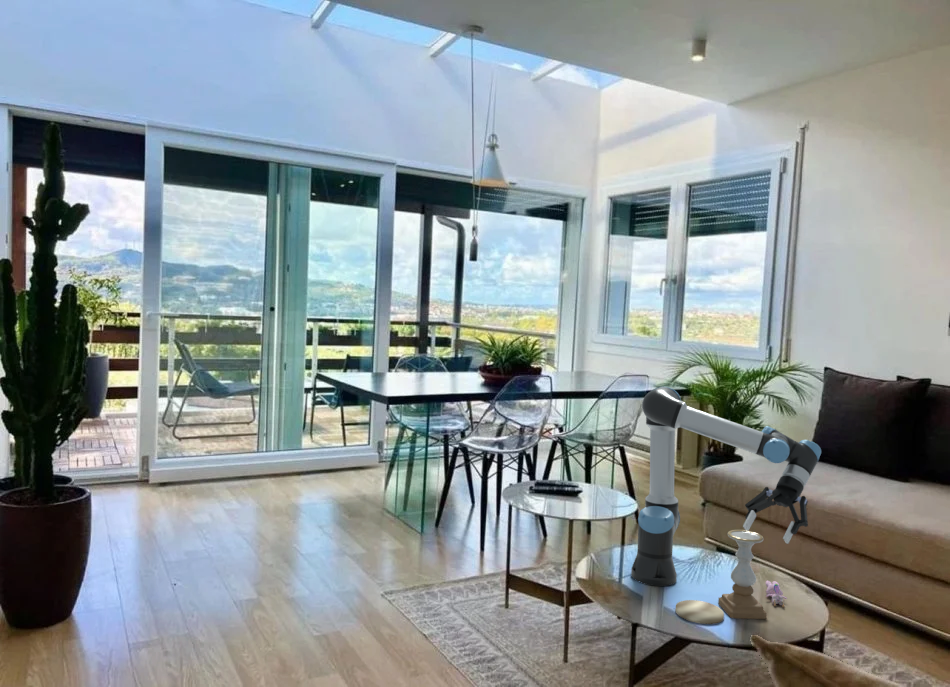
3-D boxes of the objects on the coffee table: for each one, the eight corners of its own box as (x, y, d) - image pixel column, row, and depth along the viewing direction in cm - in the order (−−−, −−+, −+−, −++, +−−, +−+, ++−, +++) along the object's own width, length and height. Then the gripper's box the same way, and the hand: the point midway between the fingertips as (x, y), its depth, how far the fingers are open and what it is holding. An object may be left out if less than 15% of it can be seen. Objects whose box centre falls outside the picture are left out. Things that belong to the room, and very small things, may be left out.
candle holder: (751, 603, 214) (755, 529, 213) (767, 619, 203) (771, 541, 202) (717, 603, 214) (720, 528, 213) (731, 618, 203) (735, 540, 202)
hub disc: (666, 612, 206) (667, 609, 206) (688, 599, 216) (688, 596, 216) (711, 628, 196) (711, 624, 196) (731, 614, 206) (731, 610, 206)
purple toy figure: (789, 613, 212) (780, 587, 226) (791, 595, 210) (781, 570, 225) (767, 610, 213) (760, 584, 227) (769, 593, 212) (761, 568, 226)
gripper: (834, 497, 213) (807, 553, 205) (761, 480, 233) (734, 530, 225) (827, 483, 210) (799, 539, 202) (753, 467, 230) (725, 517, 222)
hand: (764, 534), depth 214 cm, fingers open, 13 cm apart
